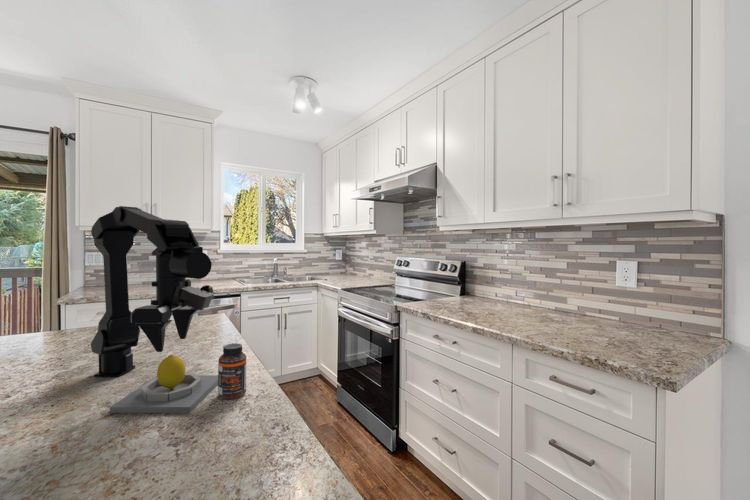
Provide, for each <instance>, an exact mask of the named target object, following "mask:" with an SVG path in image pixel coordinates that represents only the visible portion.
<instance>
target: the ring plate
mask: <svg viewBox="0 0 750 500" xmlns="http://www.w3.org/2000/svg"><path fill="white" fill-rule="evenodd" d="M216 387H218V374H215V375H214V374H211V375H209V374H206V375H205V374H204V375H201V374H200V375H199V374H198V375H197V374H196V373H187V372H185V377H184V379H183V381H182V382H181V383H180V384H179V385H177V386H176V387H175V388H174V389H172V390H170V389H169V388H165V387H163V386H161V385H160V383H159V382H158V379H157V375H156V376H155V377H153V378H152V379H150V380H149V381H147V382H146V383H144V384H143V385H141V386H140V387H138V388H137V389H134V391H132V392H131V393H129V394H128V395H126V396H125V397H123V398H122V399H120V400H118V401H117V402H116V403H114V404H113V405H111V406H109V414H183V413H184V414H187V413H188V414H189V413H191V412H192V411H193V410H194V409H195V408H197V406H198V405H199V404H200V403H201V402H202V401H203V400H204V399H205V398H206V397H207V396H208V395H210V394H211V393H212V392H213V390H215V389H216Z"/></svg>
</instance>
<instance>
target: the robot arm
mask: <svg viewBox="0 0 750 500" xmlns="http://www.w3.org/2000/svg"><path fill="white" fill-rule="evenodd" d="M90 230H91V237H92V239H93V242H94V243H93V245H94V246H95V247H96V249H97V250H98V252H100V254H101V255H102V259H103V275H104V276H103V277H104V278H103V279H104V281H103V282H104V293H105V294H104V296H105V297H104V298H105V313H104V314H103V315H102V317H101V319H100V320H99V322H98V325H97V326H98V328H97V332H96V334H95V336H94V337H93V339H92V340H91V342H90V349H91V352H92V353H94V354H97V355H98V372H96V373H95V374H93V377H94V378H95V377H98V378H99V377H102V378H103V377H120V376H123V375H124V374H126V373H128V372H130V371H131V370H134V369H135V368H136V365H134V355H133V354H134V353H133V352H132V347H137V346H138V343H139V338H140V332H141V331H142V332H143V334H145V336H146V337H147V339H148V340H149V342H150V343H151V346H152V347H153V349H154V350H155V351H156V352H157V353H162V352H163V351H164V345H165V338H166V337H165V336H166V328H167V327H168V326H169V325H170V324H171V323H172V322H173V321H174V324H175V327H176V331H177V334H178V336H179V339H180V340H186V339H187V336H188V331H189V328H190V325H191V323H192V319H193V317H194V315H195V314H196V313H197V312H198V311H203V310H204V309H207V308H210V304H211V302H212V300H215V296H214V295H215V292H214V289H213V286H211V285H208V284H205V285H203V286H201V287H198V286H197V287H195V286H192V282H191V280H190V279H196V280H201V279H204V278H206V277H207V276H208V275H209V274H210V273H211V270H212V265H213V264H212V261H211V258H210V257H209V255H207V253H205V252H204V249H203V248H204V247H203V246H200V245H199V242H198V240H197V239H196V238H195V235H194V233H193V231H192V229H191V227H190V224H189V223H188V222H187V221H185V220H178V219H176V220H175V219H166V218H161V217H159V216H156V215H154V214H151V213H149V212H146V211H145V210H142V209H141V208H139V207H135V206H123V205H122V206H121V205H119V206H116V207H114V209H113V210H112V211H111V212H109V213H107V214H105V215H101V216H100V217H98V218H97V220H96V221H95V222H94V223H93V224H92V227H91V229H90ZM140 232H142V233H145V234H146V239H147V240H148V241H149V242H150V243H152V244H153V245H154V246H155V249H154V250H152V252H151V256H155V281H151V287H155V288H156V289H155V290H156V291H155V292H156V294H155V295H156V299H154V300H151V305H150V304H149V305H146V304H145V305H143V306H140V307H136V308H135V309H133V310H132V311H131V310H130V303H129V299H130V298H129V283H128V282H129V281H128V280H129V279H128V276H129V275H128V260H127V258H128V257H127V255H128V253H129V252H130V250H131V248H133V246H134V238H135V237H136V236H137V235H138V233H140ZM171 317H173V320H172V319H171Z"/></svg>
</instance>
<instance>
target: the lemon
mask: <svg viewBox="0 0 750 500" xmlns="http://www.w3.org/2000/svg"><path fill="white" fill-rule="evenodd" d="M185 373H186V365H185V361H184V360H183V359H182V358H181V357H180V356H178V355H175V354H169V355H168V356H167V357H164V358H162V360H161V361H160V363H159V365H158V367H157V371H156V376H157V379H158V382H159V383H160V385H161V386H163V387H165V388H169V389H170V390H172V389H174V388H175V387H176V386H177V385H179V384H180V383H181V382H182V381H183V379H184V377H185Z"/></svg>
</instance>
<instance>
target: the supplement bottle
mask: <svg viewBox="0 0 750 500" xmlns="http://www.w3.org/2000/svg"><path fill="white" fill-rule="evenodd" d="M222 350H223V351H222V352H223V354H221V355H220V356H219V358H218V364H217V366H218V367H217V368H218V371H217V372H218V374H217V375H218V385H217V390H218V391H217V393H218V395H217V396H218V397H219V398H220V399H222V400H225V401H226V400H230V401H231V400H235V399H239V398H241V397H243V396H245V394H246V393H247V355H246V354H245V352H243V345H242V344H240V343H238V342H237V343H228V344H225V345H224V346H223V347H222Z"/></svg>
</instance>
